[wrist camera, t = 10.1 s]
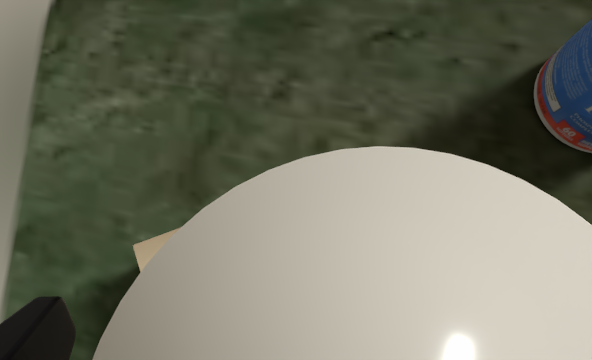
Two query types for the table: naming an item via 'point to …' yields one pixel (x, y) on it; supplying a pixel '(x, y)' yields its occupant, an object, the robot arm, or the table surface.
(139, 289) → the white flanged cylinder
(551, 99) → the pill bottle
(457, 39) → the table surface
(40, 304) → the robot arm
